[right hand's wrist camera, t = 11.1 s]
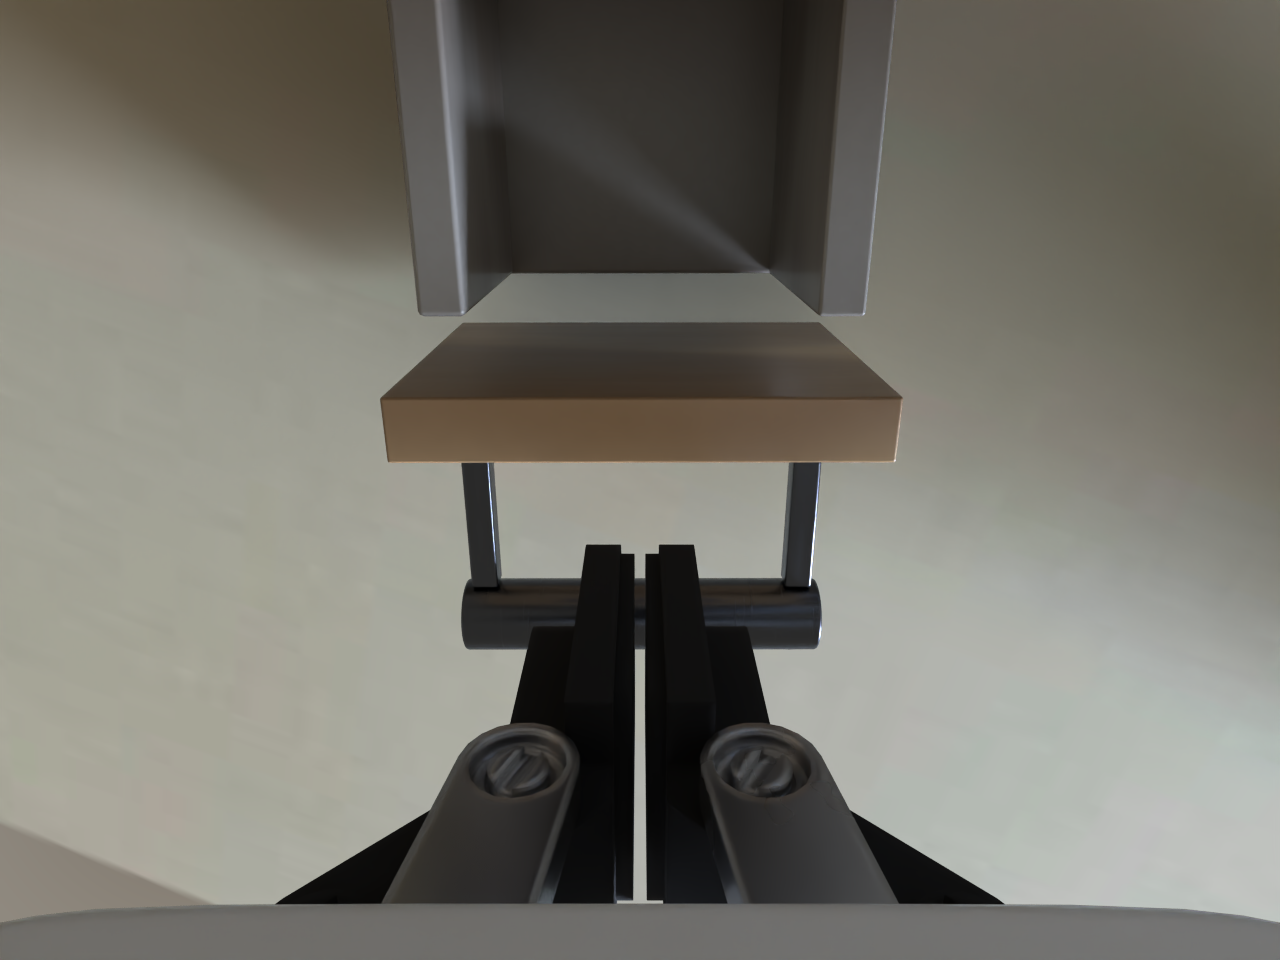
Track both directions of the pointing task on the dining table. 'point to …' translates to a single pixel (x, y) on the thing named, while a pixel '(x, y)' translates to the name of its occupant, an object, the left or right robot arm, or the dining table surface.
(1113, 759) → the dining table surface
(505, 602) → the drawer
